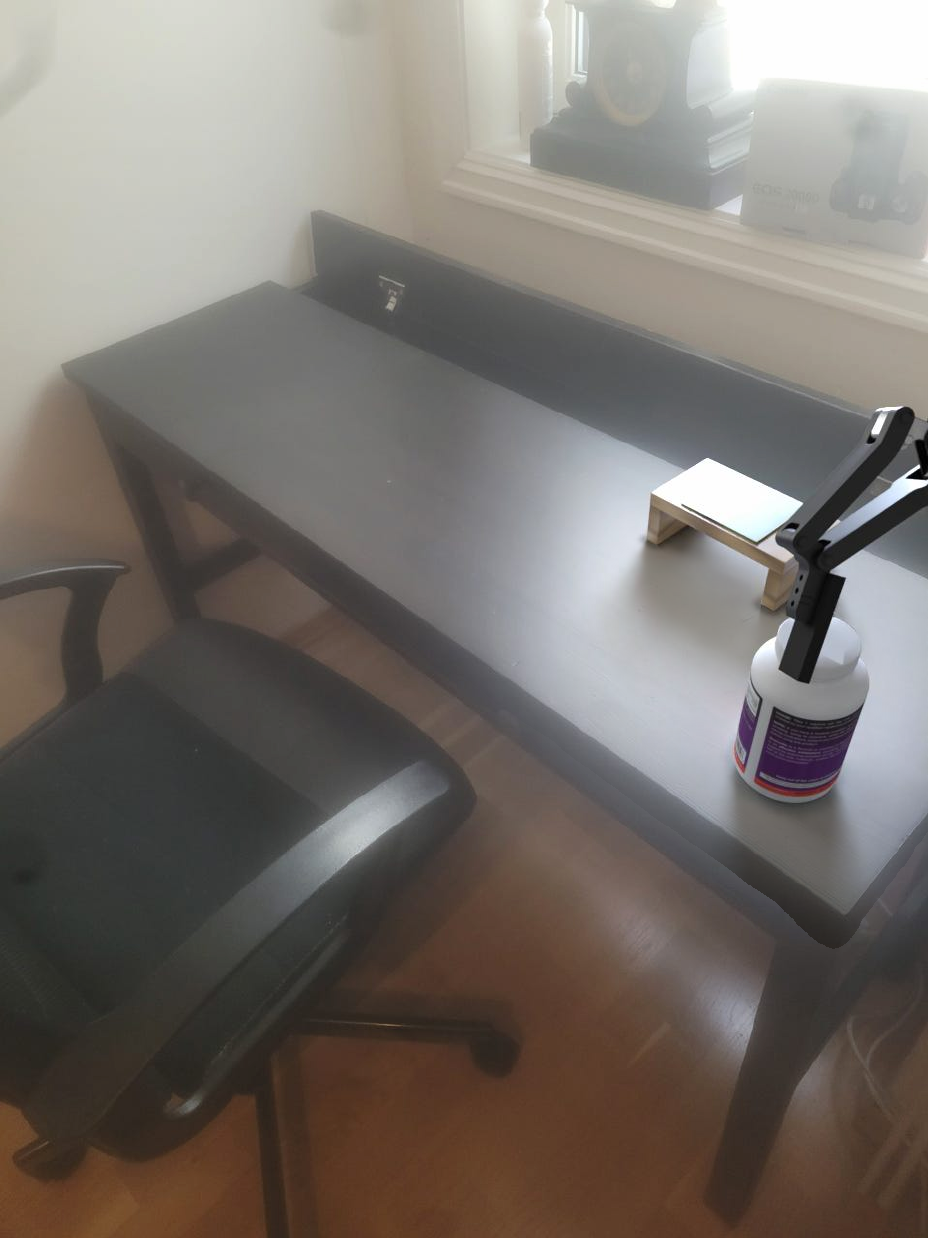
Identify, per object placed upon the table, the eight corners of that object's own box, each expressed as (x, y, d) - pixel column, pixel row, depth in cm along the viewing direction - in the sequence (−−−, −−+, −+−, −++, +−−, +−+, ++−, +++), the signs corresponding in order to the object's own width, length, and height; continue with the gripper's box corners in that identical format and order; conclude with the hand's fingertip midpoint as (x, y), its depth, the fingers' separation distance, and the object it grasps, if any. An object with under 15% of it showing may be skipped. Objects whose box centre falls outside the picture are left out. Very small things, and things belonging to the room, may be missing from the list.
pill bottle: (858, 777, 68) (909, 648, 59) (786, 827, 66) (827, 700, 56) (779, 713, 74) (814, 585, 64) (709, 757, 71) (735, 630, 61)
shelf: (828, 569, 87) (842, 519, 82) (773, 611, 83) (785, 561, 79) (700, 503, 96) (707, 456, 92) (646, 538, 92) (650, 490, 88)
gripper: (1161, 412, 54) (1034, 727, 58) (793, 301, 51) (685, 640, 55) (1280, 407, 47) (1125, 769, 50) (857, 277, 44) (728, 671, 48)
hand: (895, 702), depth 53 cm, fingers open, 13 cm apart
